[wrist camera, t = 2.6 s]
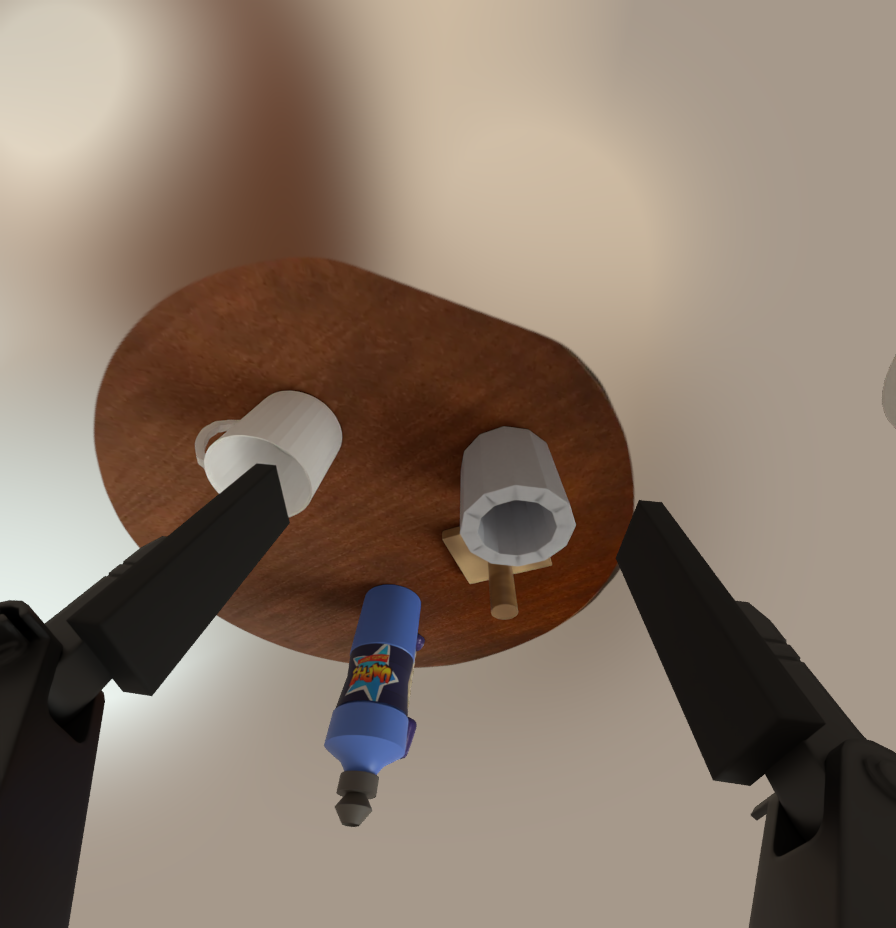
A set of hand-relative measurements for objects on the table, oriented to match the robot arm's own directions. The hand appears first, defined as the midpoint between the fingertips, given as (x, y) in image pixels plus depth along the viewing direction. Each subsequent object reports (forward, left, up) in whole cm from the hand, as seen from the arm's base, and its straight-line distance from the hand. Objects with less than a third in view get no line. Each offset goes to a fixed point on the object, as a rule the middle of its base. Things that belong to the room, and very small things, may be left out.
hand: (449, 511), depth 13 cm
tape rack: (+5, +27, -23) cm, 35 cm away
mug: (+20, +1, -23) cm, 30 cm away
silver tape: (0, +15, -23) cm, 27 cm away
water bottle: (+25, +34, -23) cm, 48 cm away
